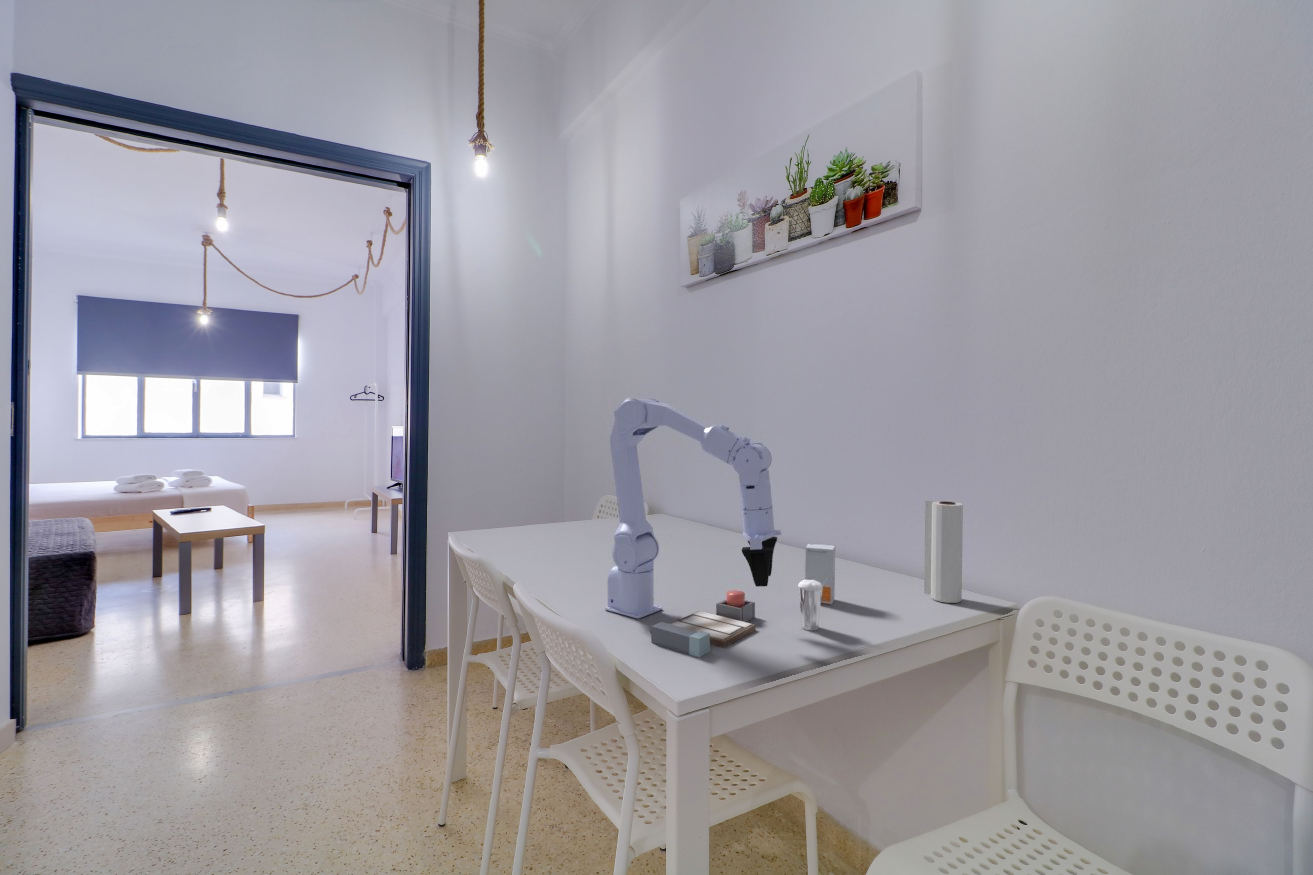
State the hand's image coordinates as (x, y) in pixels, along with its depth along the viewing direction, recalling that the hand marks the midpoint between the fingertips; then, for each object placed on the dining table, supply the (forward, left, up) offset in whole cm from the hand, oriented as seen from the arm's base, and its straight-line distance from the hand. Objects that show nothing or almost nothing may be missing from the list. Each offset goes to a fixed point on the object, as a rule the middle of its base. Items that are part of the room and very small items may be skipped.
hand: (763, 580), depth 113 cm
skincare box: (0, +24, -10) cm, 26 cm away
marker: (-8, -16, -10) cm, 20 cm away
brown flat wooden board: (-8, -6, -10) cm, 14 cm away
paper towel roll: (+21, +42, -10) cm, 48 cm away
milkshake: (+6, +7, -10) cm, 14 cm away
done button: (-8, +3, -8) cm, 12 cm away
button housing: (-8, +3, -10) cm, 13 cm away
